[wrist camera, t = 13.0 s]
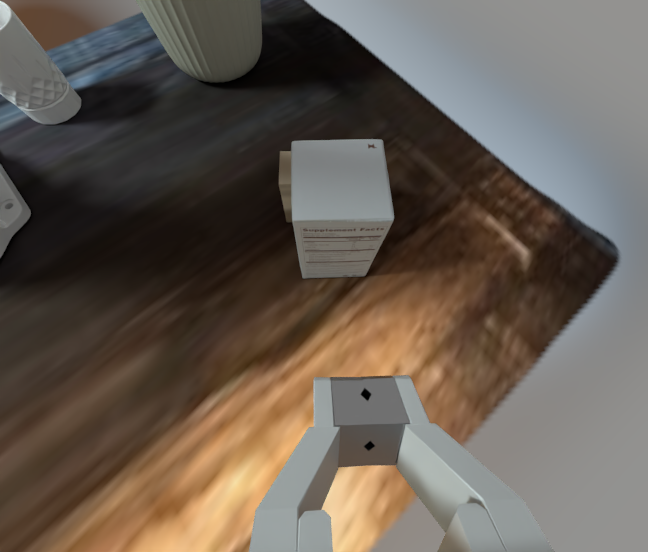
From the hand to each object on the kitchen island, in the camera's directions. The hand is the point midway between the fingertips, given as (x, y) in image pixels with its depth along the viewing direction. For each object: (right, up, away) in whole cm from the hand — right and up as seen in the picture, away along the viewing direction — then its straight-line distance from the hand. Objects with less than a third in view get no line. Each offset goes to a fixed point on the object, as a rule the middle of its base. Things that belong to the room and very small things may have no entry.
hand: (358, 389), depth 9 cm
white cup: (-39, +27, +29) cm, 56 cm away
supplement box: (0, +7, +23) cm, 24 cm away
